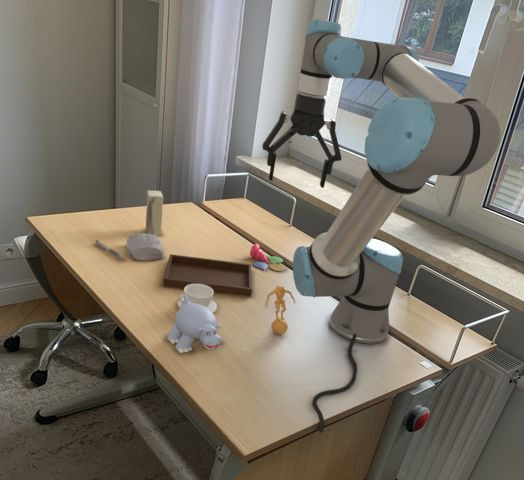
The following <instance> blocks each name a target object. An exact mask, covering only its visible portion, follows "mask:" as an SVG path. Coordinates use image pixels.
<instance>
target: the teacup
mask: <svg viewBox="0 0 524 480" xmlns="http://www.w3.org/2000/svg"><path fill="white" fill-rule="evenodd" d="M214 293H215V292H214V291H213V289H212V288H211V287H209V286H207V285H204V284H190V285H187V286H186V287H185V288H184V289H183V294H186V295H187V297H188V299H189V301H190V302H191V303H196V304H199V305H202V306H204V307H206V308H208V309H209V310H210V311H211V312H212V313H213V314H214V313H215V312H216V311H217V309H218V305H217V303H216V302H215V301H214V300H213V297H214ZM183 305H185V302H184V295H181V294H179V297H178V301H177V307H178V309H180V308H181V307H182V306H183Z"/></svg>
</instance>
